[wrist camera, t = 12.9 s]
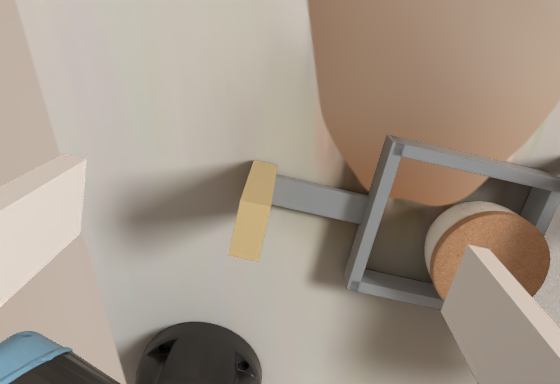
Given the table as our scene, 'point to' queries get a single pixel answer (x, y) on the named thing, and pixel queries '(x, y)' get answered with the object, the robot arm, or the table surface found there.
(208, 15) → the table surface
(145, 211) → the table surface
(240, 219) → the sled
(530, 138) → the table surface
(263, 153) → the table surface
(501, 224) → the lidded jar
